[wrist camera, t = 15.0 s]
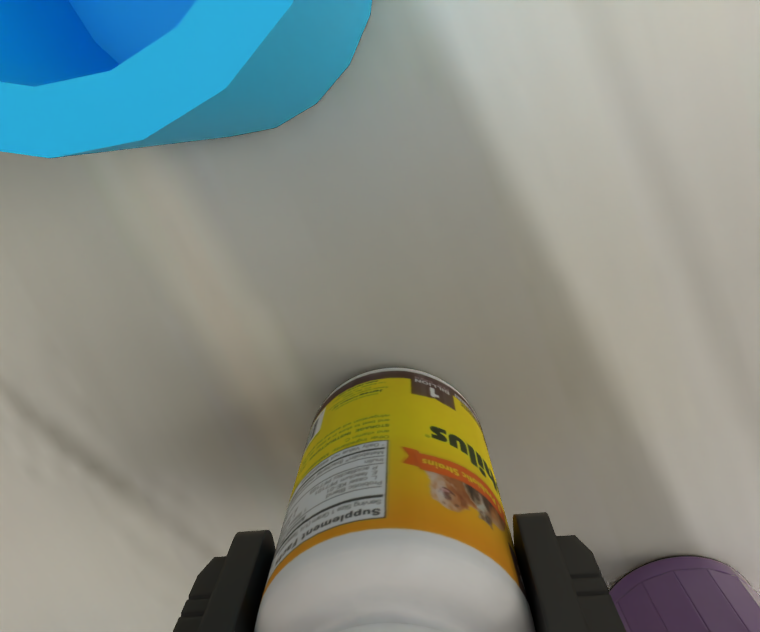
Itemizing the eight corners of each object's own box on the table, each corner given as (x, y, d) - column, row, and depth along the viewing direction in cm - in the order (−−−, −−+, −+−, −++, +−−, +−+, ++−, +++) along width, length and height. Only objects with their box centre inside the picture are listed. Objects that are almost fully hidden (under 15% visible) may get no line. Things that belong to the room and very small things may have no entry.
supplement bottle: (507, 471, 18) (628, 867, 9) (358, 526, 19) (319, 938, 10) (439, 330, 17) (497, 628, 7) (281, 398, 18) (138, 742, 8)
